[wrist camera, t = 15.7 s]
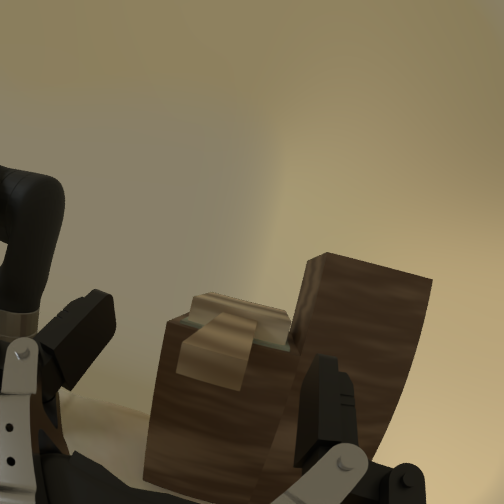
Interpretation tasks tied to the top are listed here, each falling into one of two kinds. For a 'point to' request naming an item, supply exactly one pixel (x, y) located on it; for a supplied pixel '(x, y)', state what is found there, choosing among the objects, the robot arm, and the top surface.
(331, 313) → the two-tone wooden block
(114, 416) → the top surface
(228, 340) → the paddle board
